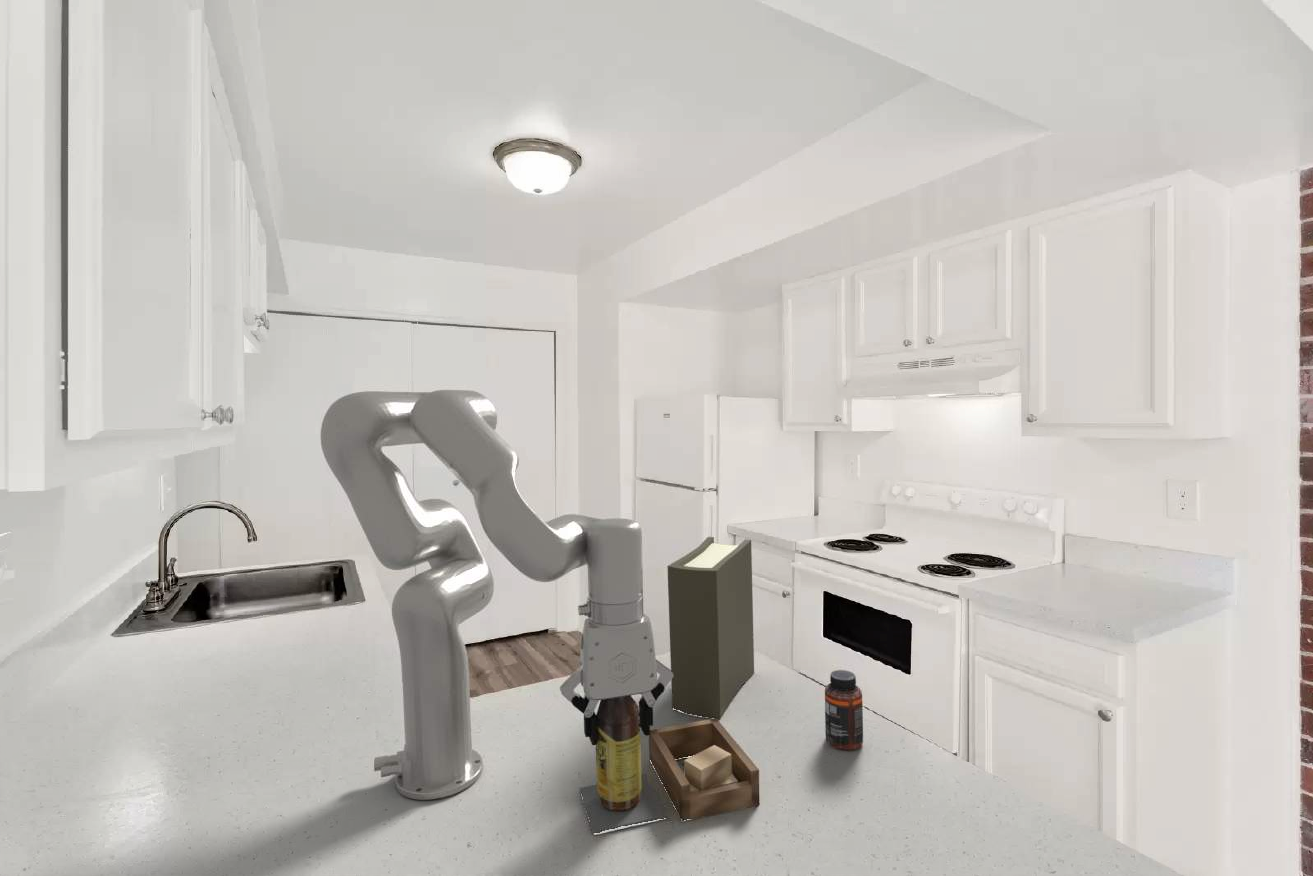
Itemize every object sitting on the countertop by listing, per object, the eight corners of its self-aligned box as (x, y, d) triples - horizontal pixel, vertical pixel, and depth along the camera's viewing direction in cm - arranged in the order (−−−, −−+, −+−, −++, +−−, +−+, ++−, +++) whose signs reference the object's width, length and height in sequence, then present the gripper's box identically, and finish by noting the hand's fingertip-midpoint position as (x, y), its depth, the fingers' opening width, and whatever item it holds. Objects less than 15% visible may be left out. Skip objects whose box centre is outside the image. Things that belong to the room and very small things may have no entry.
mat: (593, 836, 83) (593, 831, 83) (579, 791, 93) (579, 787, 93) (666, 819, 86) (666, 815, 86) (645, 778, 96) (645, 774, 95)
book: (719, 724, 112) (714, 568, 110) (670, 714, 116) (665, 564, 114) (754, 673, 132) (751, 539, 129) (711, 666, 136) (708, 536, 133)
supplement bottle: (863, 735, 106) (863, 669, 106) (862, 754, 101) (862, 684, 100) (826, 730, 108) (825, 665, 108) (823, 748, 103) (823, 680, 102)
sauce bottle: (597, 788, 92) (592, 654, 91) (640, 785, 93) (636, 651, 92) (597, 817, 86) (592, 673, 85) (644, 813, 86) (639, 669, 85)
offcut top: (701, 791, 88) (701, 770, 87) (684, 781, 90) (684, 760, 90) (731, 774, 91) (731, 754, 91) (714, 765, 94) (714, 745, 94)
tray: (682, 822, 85) (681, 786, 85) (649, 761, 100) (648, 730, 100) (759, 804, 89) (759, 769, 88) (716, 748, 103) (716, 718, 103)
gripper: (557, 626, 82) (560, 761, 83) (684, 610, 87) (686, 738, 88) (549, 608, 89) (552, 733, 90) (667, 595, 94) (669, 713, 95)
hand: (619, 734), depth 89 cm, fingers open, 6 cm apart
